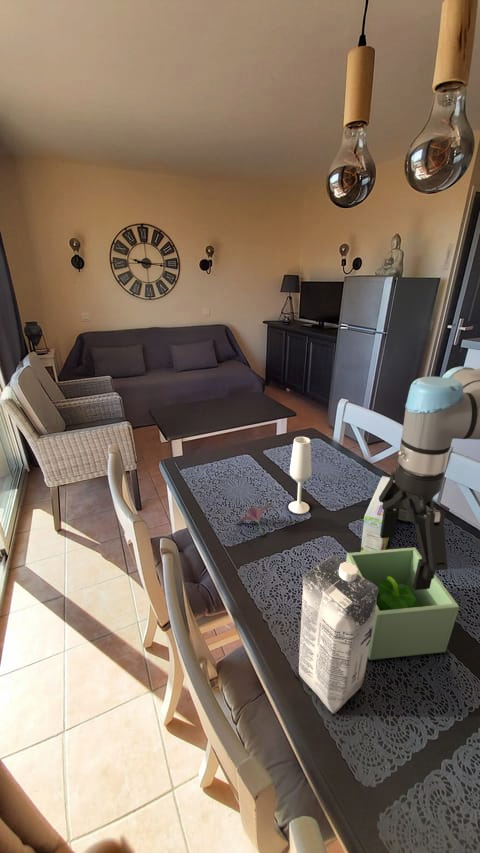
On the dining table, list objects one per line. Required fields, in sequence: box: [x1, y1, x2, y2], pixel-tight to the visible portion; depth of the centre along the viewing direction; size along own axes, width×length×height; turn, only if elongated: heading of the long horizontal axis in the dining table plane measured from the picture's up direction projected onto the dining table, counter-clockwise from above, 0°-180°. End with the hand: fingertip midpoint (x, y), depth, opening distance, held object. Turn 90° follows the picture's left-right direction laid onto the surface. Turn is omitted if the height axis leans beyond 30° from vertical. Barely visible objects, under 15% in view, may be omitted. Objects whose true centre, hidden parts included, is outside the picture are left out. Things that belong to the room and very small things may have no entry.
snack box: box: [360, 475, 396, 552], centre depth 98 cm, size 21×6×15 cm, turn 149°
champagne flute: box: [288, 436, 313, 515], centre depth 111 cm, size 7×7×24 cm
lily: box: [236, 503, 274, 536], centre depth 106 cm, size 12×12×10 cm
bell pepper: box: [376, 576, 418, 611], centre depth 76 cm, size 8×8×10 cm
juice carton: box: [298, 554, 378, 715], centre depth 62 cm, size 9×10×27 cm
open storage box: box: [345, 546, 460, 661], centre depth 76 cm, size 16×16×13 cm
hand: (402, 560), depth 71 cm, fingers open, 13 cm apart
